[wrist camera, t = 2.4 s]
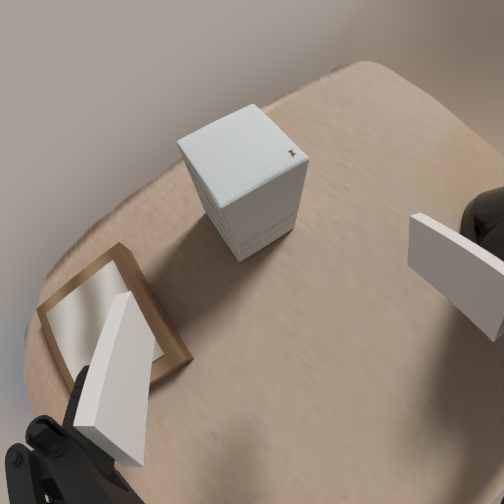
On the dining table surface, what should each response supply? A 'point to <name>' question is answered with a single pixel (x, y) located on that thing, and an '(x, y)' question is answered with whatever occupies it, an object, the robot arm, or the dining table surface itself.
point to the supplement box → (246, 178)
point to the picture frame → (96, 311)
